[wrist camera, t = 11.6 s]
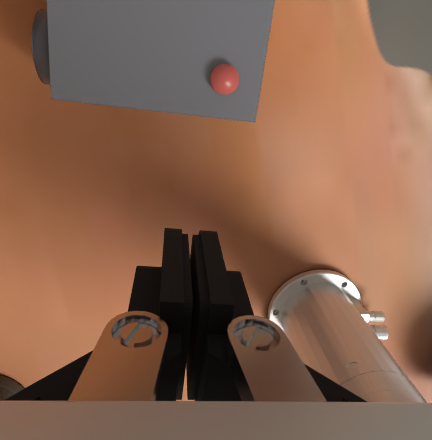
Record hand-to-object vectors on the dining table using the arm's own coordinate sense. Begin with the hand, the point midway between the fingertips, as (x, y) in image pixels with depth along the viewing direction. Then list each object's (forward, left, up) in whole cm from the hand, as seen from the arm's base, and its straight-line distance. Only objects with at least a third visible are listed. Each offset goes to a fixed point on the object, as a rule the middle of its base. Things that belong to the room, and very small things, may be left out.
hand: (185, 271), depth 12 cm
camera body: (+3, -7, -29) cm, 30 cm away
